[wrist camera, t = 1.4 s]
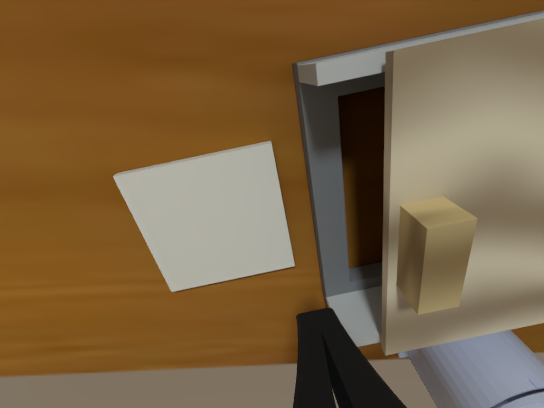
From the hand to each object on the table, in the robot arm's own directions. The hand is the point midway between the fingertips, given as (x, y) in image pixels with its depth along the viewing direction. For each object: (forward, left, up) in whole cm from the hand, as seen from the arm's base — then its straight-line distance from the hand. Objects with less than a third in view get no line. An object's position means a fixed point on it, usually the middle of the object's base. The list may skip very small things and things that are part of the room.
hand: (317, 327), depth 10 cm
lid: (0, -11, -4) cm, 12 cm away
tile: (0, +5, -10) cm, 11 cm away
